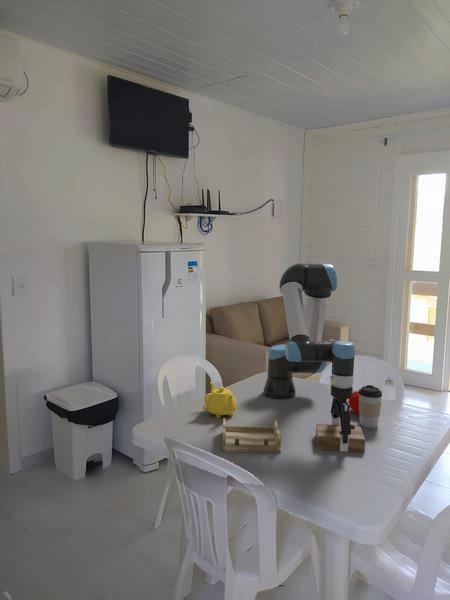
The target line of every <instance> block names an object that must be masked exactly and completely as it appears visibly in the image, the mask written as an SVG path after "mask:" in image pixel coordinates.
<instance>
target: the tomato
mask: <svg viewBox="0 0 450 600" xmlns="http://www.w3.org/2000/svg"><path fill="white" fill-rule="evenodd" d="M358 392H359V390H355V391H353V394H352V397H351V398H348V400H347V402H348V405H350V410H351V411H352V412H353V413H354V414H356V415H358V416H359V393H358Z"/></svg>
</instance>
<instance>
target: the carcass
mask: <svg viewBox="0 0 450 600" xmlns="http://www.w3.org/2000/svg"><path fill="white" fill-rule="evenodd" d="M222 422H223V423H222V438H221V439H222V440H221V441H222V442H221V445H222V448H221V450H222V452H223V453H224V452H226V453H227V452H228V453H229V452H230V453H274V454H275V453H277V454H279V453H281V450H282V449H281V447H282V437H281V433H280V429H279V425H278V424H279V423H278V420H277V419H276V418H273V426H265V425H262V426H259V425H258V426H257V425H256V426H255V425H252V426H251V425H249V426H248V425H227V418H225V417H223V419H222Z"/></svg>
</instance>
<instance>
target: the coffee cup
mask: <svg viewBox="0 0 450 600" xmlns="http://www.w3.org/2000/svg"><path fill="white" fill-rule="evenodd" d="M358 391H359V392H358V393H359V415H358V416H359V425H360V426H362V425H363V426H362V427H365V426H366V428H376V426H377V427H378V425H379V418H380V414H381V409H382V408H381V407H382V397H383V391H381V389H380V388H379V387H376V386H373V385H371V384H370V385H365V386H361V388H359V389H358Z"/></svg>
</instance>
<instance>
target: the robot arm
mask: <svg viewBox="0 0 450 600" xmlns="http://www.w3.org/2000/svg"><path fill="white" fill-rule="evenodd" d="M337 287H338V277H337V272H336V269H335V267H334V265H333V264H330V263H329V264H328V263H323V262H322V263H296V264H293V265H291V266H289V267H288V268H287V269H286V270H285V271H284V273H283V274H282V275H281V277H280V281H279V294H280V295H281V297H283V304H284V310H285V311H284V312H285V318H286V324H287V331H288V332H287V333H288V337H289V341H287V342H286V343H285V344H283V343H282V344H276V345H273V346H271V347H270V348H269V349H268V352H267V378H266V381H265V385H264V387H263V395H264V396H265V397H268V398H270V399H276V400H289V399H293V398H294V397H296V390H297V389H296V386H295V384H294V380H293V374H319V373H322V372H324V370H325V368H326V366H327V363H331V375H330V376H329V379H331V381H330V382H331V385H330V395H331V397H332V402H331V409H330V414H331V425H341V432H340V433H339V434H340V450H339V452H342V453H345V452H346V453H347V452H348V453H349V451H348V442H349V435H351V426H350V425H351V414H350V410H351V408H350V405H349V402H348V400H349V398H351V397H352V394H353V392H354V387H353V386H354V376H355V374H354V372H355V371H354V370H355V355H356V350H355V344H354V343H353V342H351V341H347V340H345V341H344V340H336V339H328V340H326V341H322V339H323V338H322V337H323V331H324V324H325V323H324V322H325V318H326V317H325V316H326V308H327V300H328V299H329V298H330V297H331V295H332V292H335V291H336V290H337ZM303 293H304V295H305V296H306V305H305V307H304V301H303V296H302V294H303Z"/></svg>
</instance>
